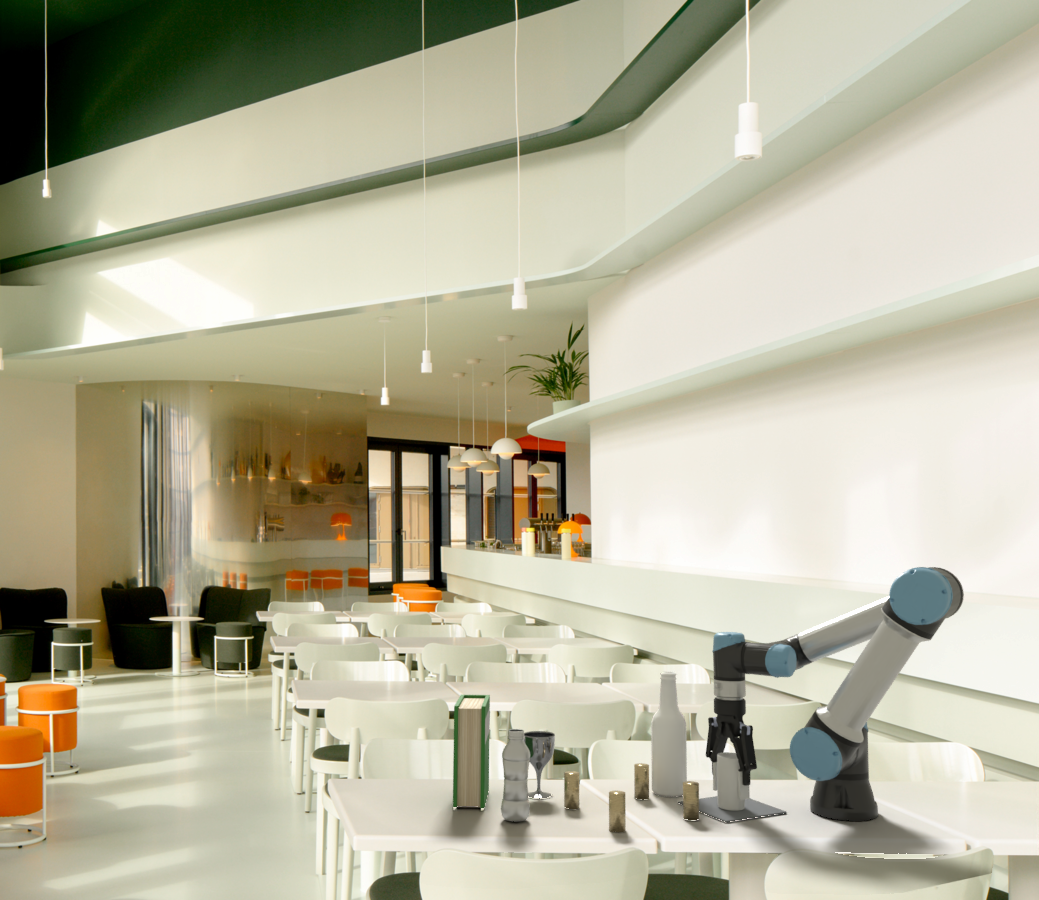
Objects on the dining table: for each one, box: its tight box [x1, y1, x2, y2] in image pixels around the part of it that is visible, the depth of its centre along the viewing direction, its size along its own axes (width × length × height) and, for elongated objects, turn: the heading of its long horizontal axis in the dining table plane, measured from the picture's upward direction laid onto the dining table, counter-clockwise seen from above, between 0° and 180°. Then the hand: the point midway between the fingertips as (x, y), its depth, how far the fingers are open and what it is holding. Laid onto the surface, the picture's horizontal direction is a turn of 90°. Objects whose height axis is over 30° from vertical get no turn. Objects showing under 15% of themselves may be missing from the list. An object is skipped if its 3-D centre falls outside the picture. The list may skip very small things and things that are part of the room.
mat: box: [677, 795, 788, 822], centre depth 226 cm, size 18×18×1 cm
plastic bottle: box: [500, 728, 531, 823], centre depth 216 cm, size 6×7×20 cm
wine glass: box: [523, 730, 556, 799], centre depth 237 cm, size 8×8×15 cm
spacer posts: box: [563, 762, 700, 834], centre depth 222 cm, size 24×24×8 cm
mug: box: [716, 752, 745, 811], centre depth 227 cm, size 10×7×12 cm, turn 168°
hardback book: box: [452, 694, 491, 808], centre depth 233 cm, size 18×7×24 cm, turn 178°
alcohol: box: [650, 671, 688, 798], centre depth 241 cm, size 9×9×30 cm
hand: (731, 794), depth 226 cm, fingers open, 9 cm apart
